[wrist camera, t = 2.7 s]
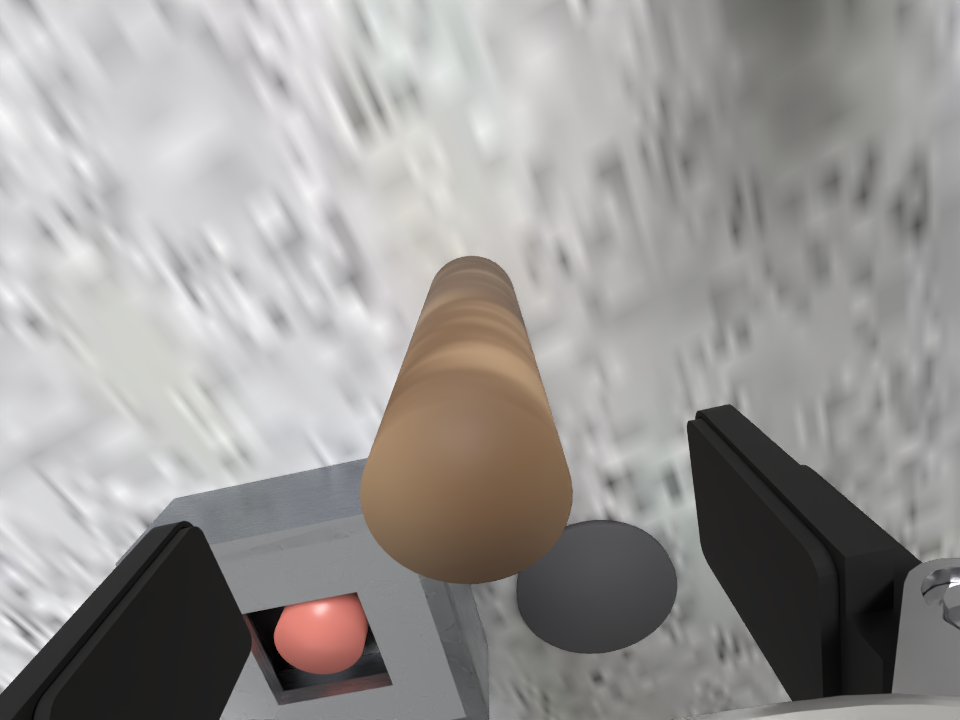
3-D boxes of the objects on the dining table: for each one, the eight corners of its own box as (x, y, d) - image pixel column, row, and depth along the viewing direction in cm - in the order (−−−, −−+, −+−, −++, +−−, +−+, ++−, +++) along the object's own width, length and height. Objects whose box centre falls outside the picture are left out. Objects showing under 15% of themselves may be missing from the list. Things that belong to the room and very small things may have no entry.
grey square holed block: (427, 445, 28) (417, 502, 23) (487, 645, 32) (489, 727, 28) (174, 498, 29) (115, 564, 24) (267, 685, 34) (233, 770, 29)
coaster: (664, 505, 29) (668, 512, 29) (680, 630, 32) (684, 638, 32) (501, 537, 30) (502, 544, 29) (533, 656, 33) (533, 665, 32)
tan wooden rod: (504, 247, 24) (551, 381, 9) (522, 329, 26) (588, 563, 11) (419, 267, 25) (331, 428, 10) (441, 347, 26) (393, 600, 11)
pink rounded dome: (358, 563, 28) (348, 598, 26) (382, 627, 29) (375, 665, 27) (278, 579, 28) (260, 615, 26) (306, 641, 30) (292, 680, 27)
